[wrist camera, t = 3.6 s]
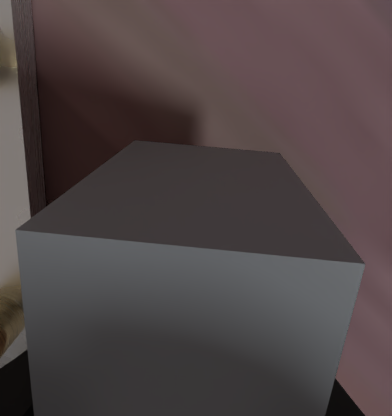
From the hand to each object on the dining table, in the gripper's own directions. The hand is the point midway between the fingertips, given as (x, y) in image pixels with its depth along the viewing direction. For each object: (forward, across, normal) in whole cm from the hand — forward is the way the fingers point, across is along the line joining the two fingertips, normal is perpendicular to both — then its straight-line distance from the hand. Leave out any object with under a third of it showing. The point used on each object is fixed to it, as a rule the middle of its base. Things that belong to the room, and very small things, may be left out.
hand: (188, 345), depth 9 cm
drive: (+2, 0, 0) cm, 2 cm away
